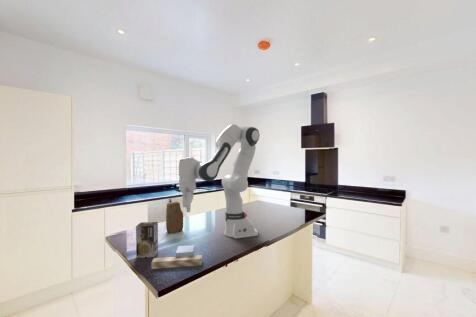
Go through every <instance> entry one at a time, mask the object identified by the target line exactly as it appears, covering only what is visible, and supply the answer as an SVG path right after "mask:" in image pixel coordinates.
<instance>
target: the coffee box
mask: <svg viewBox="0 0 476 317" xmlns="http://www.w3.org/2000/svg"><path fill="white" fill-rule="evenodd" d="M158 223H159V222H158V221H148V222H143V221H142V222H139V223H138V224H137V225H136V226H135V237H136V238H135V243H136V245H135V246H136V247H135V250H136V254H135V255H136V256H135V257H136V259H141V258H142V259H143V258H144V259H145V257H147V258H156V256H157V254H158V253H159V233H158V232H159V230H158V228H159V224H158Z"/></svg>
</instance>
